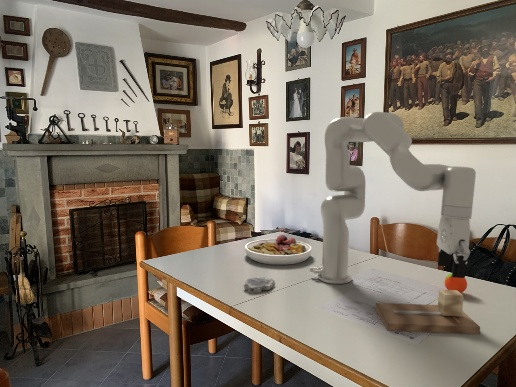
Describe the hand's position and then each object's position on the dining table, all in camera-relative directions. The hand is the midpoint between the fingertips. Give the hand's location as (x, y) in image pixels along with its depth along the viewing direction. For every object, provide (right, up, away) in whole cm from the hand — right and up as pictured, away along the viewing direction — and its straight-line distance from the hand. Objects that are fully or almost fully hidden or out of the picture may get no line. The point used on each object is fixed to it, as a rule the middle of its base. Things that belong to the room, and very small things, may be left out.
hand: (450, 271), depth 108 cm
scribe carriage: (0, -12, +1) cm, 12 cm away
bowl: (-45, -7, +66) cm, 81 cm away
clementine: (+13, -12, +23) cm, 29 cm away
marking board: (-7, -14, +2) cm, 16 cm away
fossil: (-54, -12, +27) cm, 62 cm away
